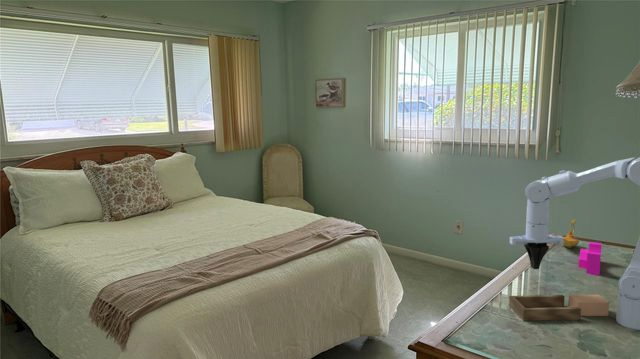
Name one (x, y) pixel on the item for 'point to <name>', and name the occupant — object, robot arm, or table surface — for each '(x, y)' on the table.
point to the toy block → (591, 258)
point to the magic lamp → (570, 238)
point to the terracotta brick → (590, 304)
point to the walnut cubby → (543, 313)
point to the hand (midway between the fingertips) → (534, 268)
